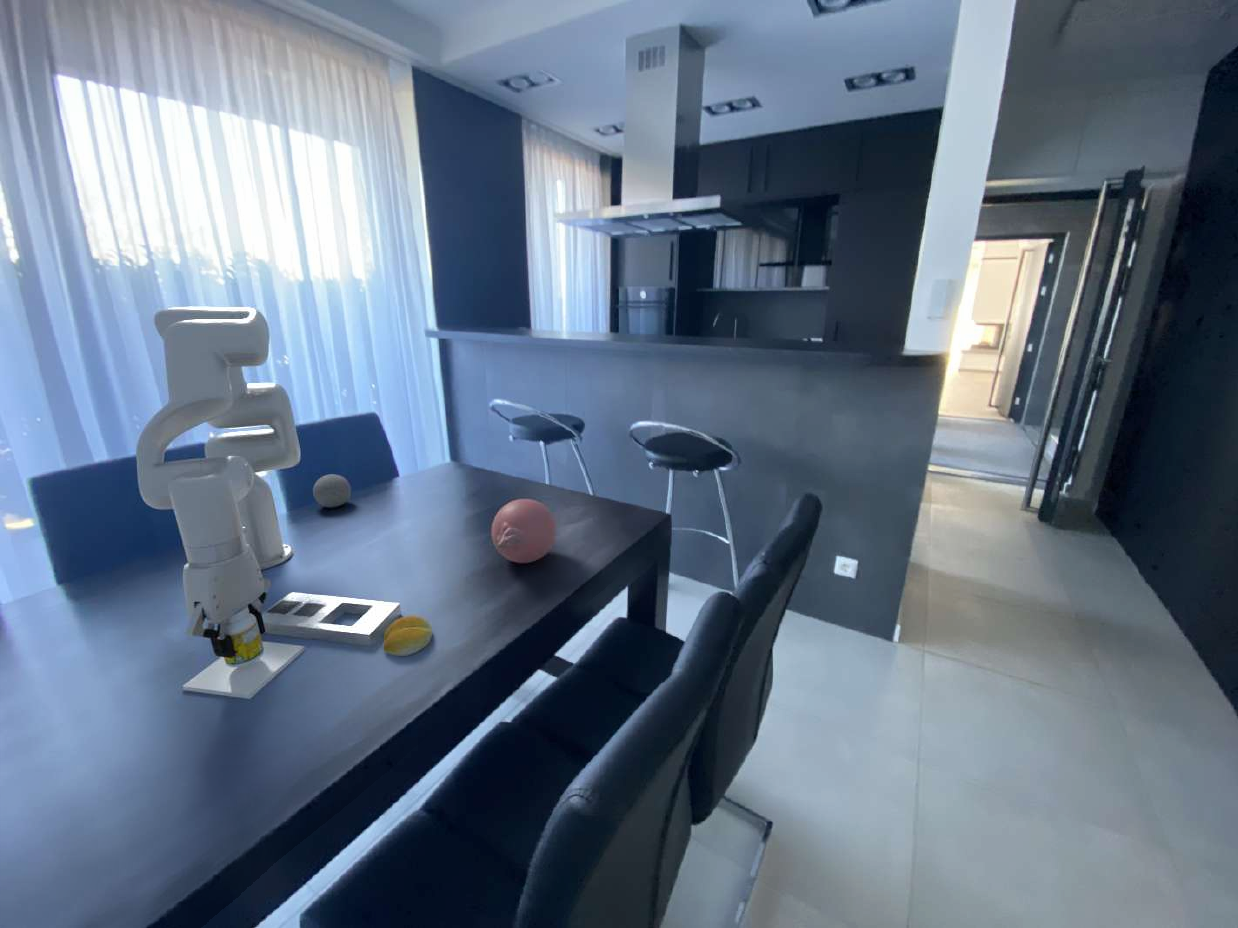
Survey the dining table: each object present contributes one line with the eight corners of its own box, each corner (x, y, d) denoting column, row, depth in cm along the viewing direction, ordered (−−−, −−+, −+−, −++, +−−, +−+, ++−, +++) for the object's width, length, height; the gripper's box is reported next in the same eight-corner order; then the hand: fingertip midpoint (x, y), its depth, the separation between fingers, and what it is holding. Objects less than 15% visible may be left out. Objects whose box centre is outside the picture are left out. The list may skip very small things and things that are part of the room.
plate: (183, 689, 82) (182, 685, 82) (245, 642, 93) (244, 639, 93) (249, 698, 80) (248, 694, 80) (304, 649, 92) (304, 646, 91)
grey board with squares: (254, 632, 96) (251, 620, 95) (293, 602, 106) (291, 591, 105) (371, 645, 93) (369, 633, 92) (401, 613, 102) (399, 602, 102)
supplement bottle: (272, 651, 88) (260, 603, 85) (241, 671, 83) (228, 622, 80) (248, 644, 89) (236, 597, 86) (217, 664, 85) (204, 615, 82)
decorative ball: (360, 501, 158) (355, 471, 155) (336, 514, 148) (331, 482, 145) (333, 498, 160) (328, 468, 157) (308, 510, 151) (302, 479, 148)
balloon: (469, 577, 116) (463, 516, 111) (514, 540, 134) (511, 486, 129) (528, 590, 111) (525, 526, 107) (567, 550, 129) (566, 494, 125)
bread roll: (383, 662, 89) (380, 643, 88) (386, 632, 97) (383, 614, 96) (432, 652, 92) (430, 633, 91) (431, 624, 100) (429, 606, 99)
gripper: (241, 522, 88) (262, 612, 94) (139, 573, 72) (172, 676, 78) (280, 526, 87) (299, 616, 93) (186, 577, 71) (215, 682, 77)
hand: (241, 642), depth 85 cm, fingers closed on supplement bottle, 5 cm apart
